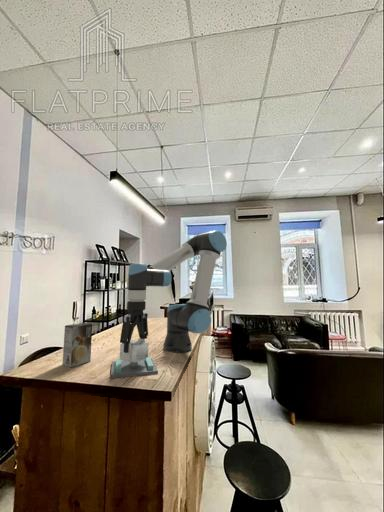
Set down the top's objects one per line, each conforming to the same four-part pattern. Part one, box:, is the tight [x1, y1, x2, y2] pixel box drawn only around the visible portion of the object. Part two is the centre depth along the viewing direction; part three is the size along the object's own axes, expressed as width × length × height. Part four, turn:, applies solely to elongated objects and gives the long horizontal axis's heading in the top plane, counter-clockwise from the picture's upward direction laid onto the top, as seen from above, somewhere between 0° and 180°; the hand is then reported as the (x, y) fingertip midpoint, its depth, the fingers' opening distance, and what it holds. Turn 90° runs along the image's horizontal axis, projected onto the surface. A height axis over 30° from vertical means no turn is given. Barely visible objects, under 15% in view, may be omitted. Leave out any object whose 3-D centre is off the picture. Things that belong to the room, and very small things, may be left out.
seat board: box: [110, 342, 159, 379], centre depth 93 cm, size 17×16×10 cm
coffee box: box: [61, 322, 93, 368], centre depth 99 cm, size 9×6×16 cm
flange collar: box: [119, 339, 150, 363], centre depth 94 cm, size 8×8×6 cm
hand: (134, 357), depth 93 cm, fingers closed on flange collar, 8 cm apart
